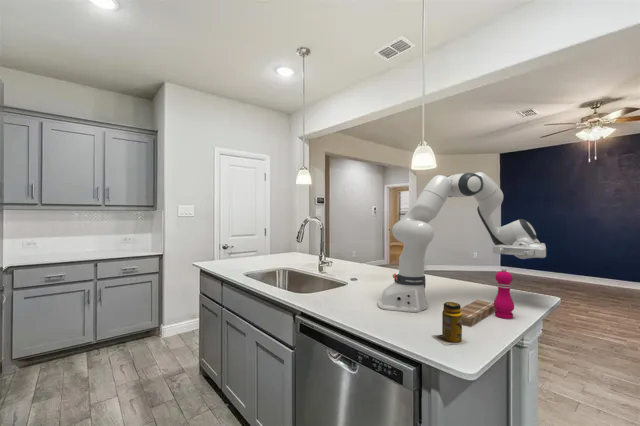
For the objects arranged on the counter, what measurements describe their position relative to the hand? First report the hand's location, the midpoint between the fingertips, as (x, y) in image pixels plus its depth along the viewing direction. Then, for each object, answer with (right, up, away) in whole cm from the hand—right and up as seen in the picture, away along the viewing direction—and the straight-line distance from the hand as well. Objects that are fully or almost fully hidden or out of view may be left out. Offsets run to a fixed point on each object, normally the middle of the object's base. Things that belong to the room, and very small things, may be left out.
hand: (513, 252), depth 132 cm
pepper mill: (-9, -25, -8) cm, 28 cm away
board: (-21, -25, -7) cm, 33 cm away
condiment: (-41, -25, -30) cm, 57 cm away
